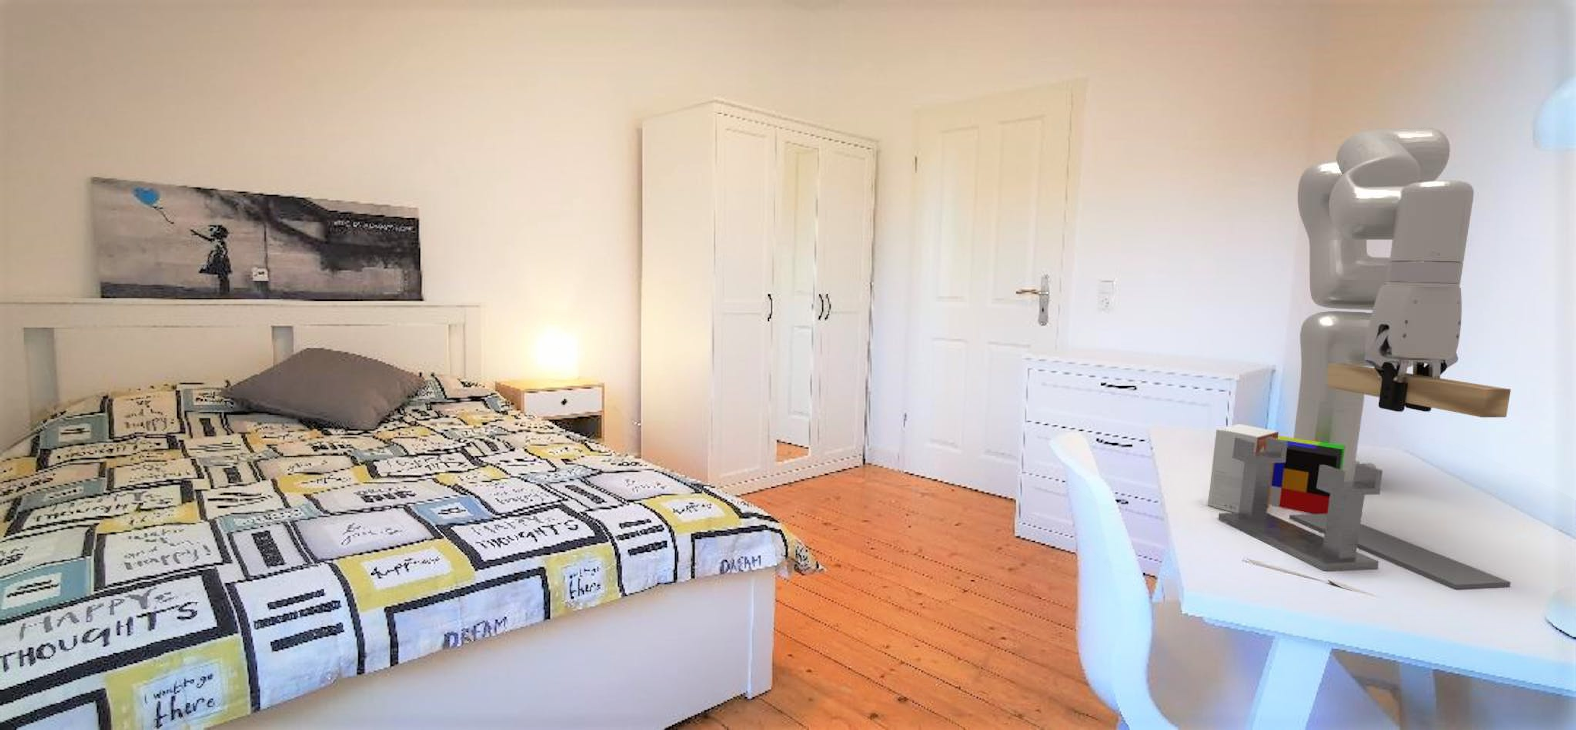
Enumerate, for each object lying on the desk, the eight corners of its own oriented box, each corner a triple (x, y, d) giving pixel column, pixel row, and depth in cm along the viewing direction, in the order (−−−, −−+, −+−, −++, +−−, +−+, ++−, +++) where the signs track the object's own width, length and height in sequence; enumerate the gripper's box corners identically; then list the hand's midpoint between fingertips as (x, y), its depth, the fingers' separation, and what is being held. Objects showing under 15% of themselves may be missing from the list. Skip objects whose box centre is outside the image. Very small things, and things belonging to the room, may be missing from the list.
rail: (1345, 386, 111) (1348, 364, 110) (1506, 417, 89) (1510, 389, 89) (1325, 386, 110) (1328, 364, 110) (1482, 417, 89) (1486, 389, 88)
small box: (1248, 517, 114) (1258, 436, 113) (1206, 505, 119) (1215, 428, 118) (1270, 508, 119) (1279, 430, 117) (1228, 497, 124) (1237, 423, 122)
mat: (1333, 517, 115) (1334, 513, 115) (1509, 586, 91) (1510, 582, 91) (1289, 518, 114) (1289, 514, 114) (1455, 589, 90) (1455, 584, 90)
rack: (1264, 518, 114) (1274, 436, 112) (1377, 568, 96) (1391, 471, 94) (1218, 519, 113) (1227, 436, 111) (1324, 571, 94) (1337, 472, 92)
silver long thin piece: (1426, 610, 83) (1236, 558, 96) (1424, 618, 83) (1236, 566, 96) (1429, 600, 85) (1245, 551, 99) (1428, 608, 85) (1244, 558, 99)
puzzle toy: (1255, 502, 122) (1262, 444, 121) (1267, 489, 129) (1274, 435, 128) (1328, 517, 115) (1337, 456, 114) (1337, 503, 123) (1345, 445, 121)
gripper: (1447, 276, 102) (1428, 404, 105) (1344, 274, 100) (1327, 404, 103) (1506, 277, 95) (1484, 415, 98) (1397, 275, 93) (1377, 415, 95)
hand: (1404, 408), depth 100 cm, fingers closed on rail, 3 cm apart
